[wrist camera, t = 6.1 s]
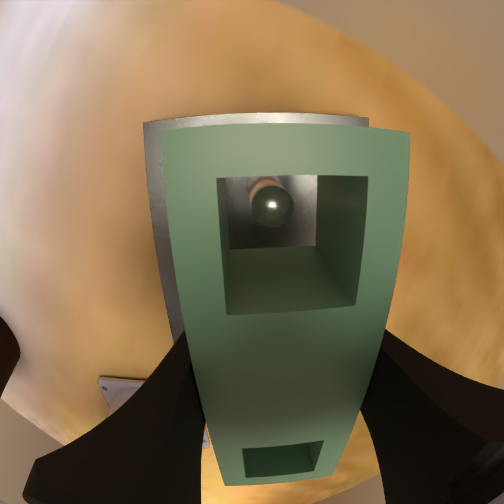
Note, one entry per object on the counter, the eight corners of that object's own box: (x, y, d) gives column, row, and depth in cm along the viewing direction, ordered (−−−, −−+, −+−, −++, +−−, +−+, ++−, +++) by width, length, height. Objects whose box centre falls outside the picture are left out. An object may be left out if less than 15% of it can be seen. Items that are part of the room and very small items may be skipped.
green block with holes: (316, 415, 14) (331, 475, 10) (225, 423, 14) (224, 485, 10) (345, 131, 9) (410, 132, 5) (191, 133, 9) (160, 130, 5)
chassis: (338, 359, 20) (362, 418, 14) (184, 370, 19) (174, 433, 14) (360, 118, 14) (419, 114, 8) (149, 123, 13) (102, 118, 8)
